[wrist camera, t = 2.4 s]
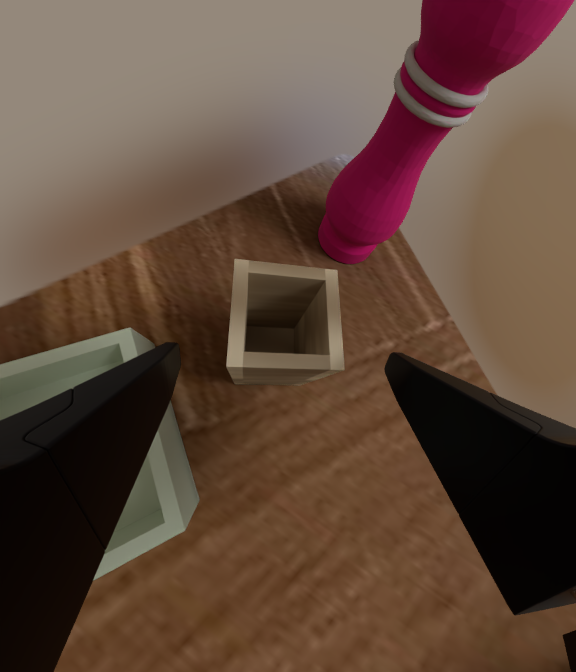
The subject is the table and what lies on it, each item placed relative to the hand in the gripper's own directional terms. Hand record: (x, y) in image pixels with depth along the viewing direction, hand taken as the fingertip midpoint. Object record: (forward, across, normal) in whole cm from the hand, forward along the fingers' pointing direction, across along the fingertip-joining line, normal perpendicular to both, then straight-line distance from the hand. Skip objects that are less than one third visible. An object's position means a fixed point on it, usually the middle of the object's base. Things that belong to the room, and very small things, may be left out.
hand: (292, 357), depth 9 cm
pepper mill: (+18, -8, -4) cm, 20 cm away
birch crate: (+9, 0, +5) cm, 10 cm away
